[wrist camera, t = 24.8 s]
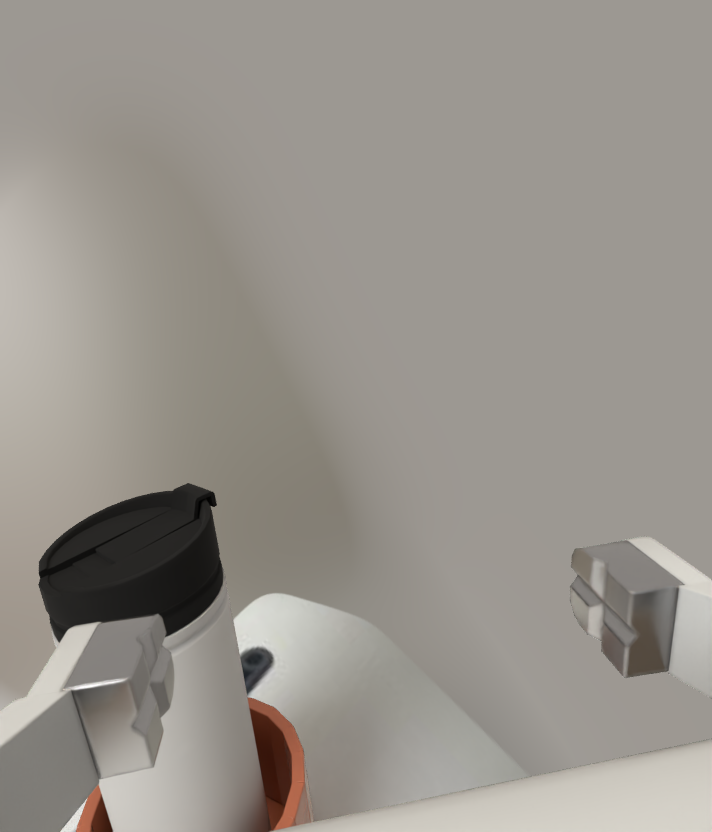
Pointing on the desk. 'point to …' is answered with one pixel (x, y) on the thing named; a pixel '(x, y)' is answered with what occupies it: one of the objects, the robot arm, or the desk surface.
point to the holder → (278, 771)
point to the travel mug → (191, 652)
